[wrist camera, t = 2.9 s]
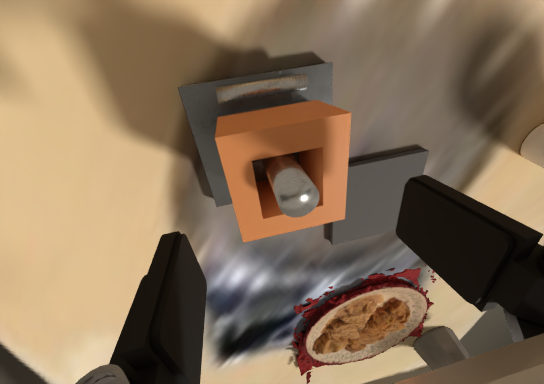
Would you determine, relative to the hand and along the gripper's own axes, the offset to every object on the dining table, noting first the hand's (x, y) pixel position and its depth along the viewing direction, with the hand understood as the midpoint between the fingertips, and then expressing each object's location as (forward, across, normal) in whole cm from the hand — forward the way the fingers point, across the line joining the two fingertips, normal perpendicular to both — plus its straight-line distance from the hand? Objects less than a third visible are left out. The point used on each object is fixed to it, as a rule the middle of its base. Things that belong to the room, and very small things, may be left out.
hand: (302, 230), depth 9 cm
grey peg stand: (+12, 0, -1) cm, 12 cm away
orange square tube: (+7, 0, -1) cm, 8 cm away
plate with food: (+13, -13, +34) cm, 39 cm away
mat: (+12, -12, +8) cm, 18 cm away
